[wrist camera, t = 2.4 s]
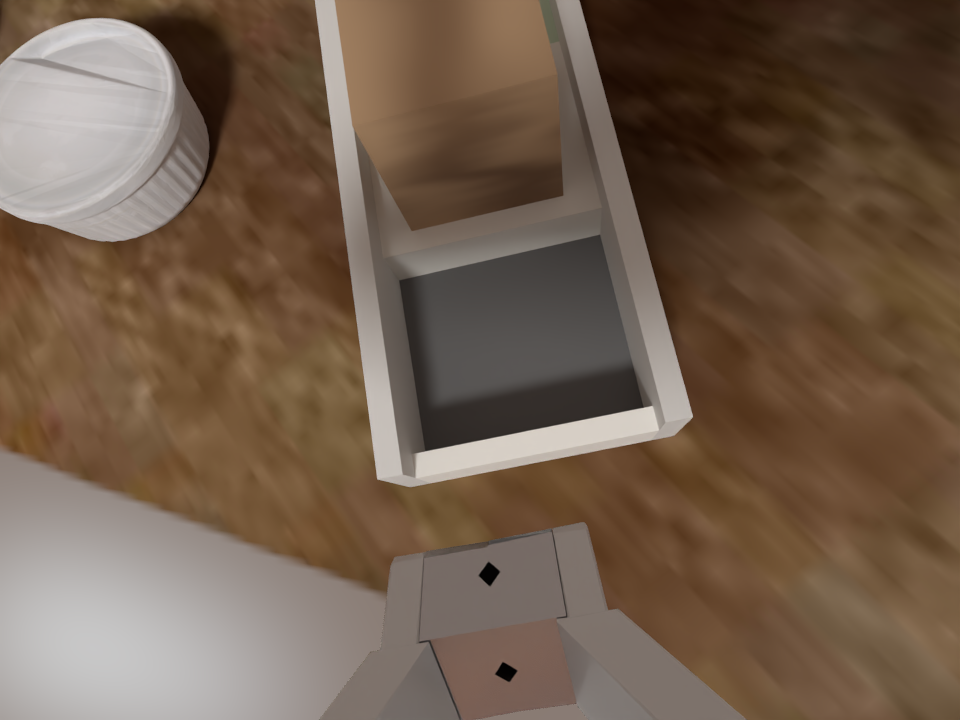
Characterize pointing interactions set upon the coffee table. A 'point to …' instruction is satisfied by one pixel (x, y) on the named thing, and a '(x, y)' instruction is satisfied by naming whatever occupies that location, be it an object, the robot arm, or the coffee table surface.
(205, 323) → the coffee table surface
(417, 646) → the robot arm
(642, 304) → the track
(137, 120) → the ramekin
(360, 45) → the walnut block
